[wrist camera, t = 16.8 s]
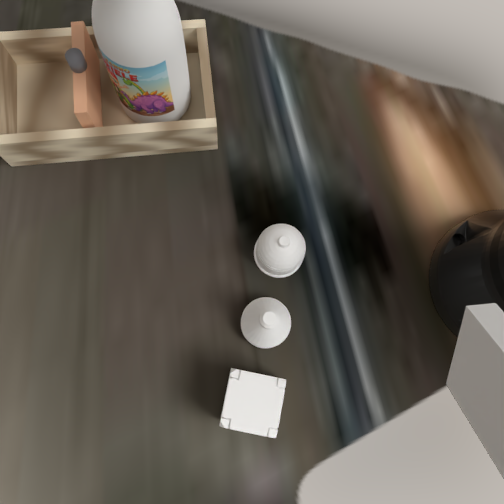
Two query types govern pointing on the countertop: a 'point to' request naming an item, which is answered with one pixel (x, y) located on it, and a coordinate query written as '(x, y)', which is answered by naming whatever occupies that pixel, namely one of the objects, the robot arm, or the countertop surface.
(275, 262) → the container set
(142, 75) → the milk bottle
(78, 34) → the pusher
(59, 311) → the countertop surface
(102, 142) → the wooden box
